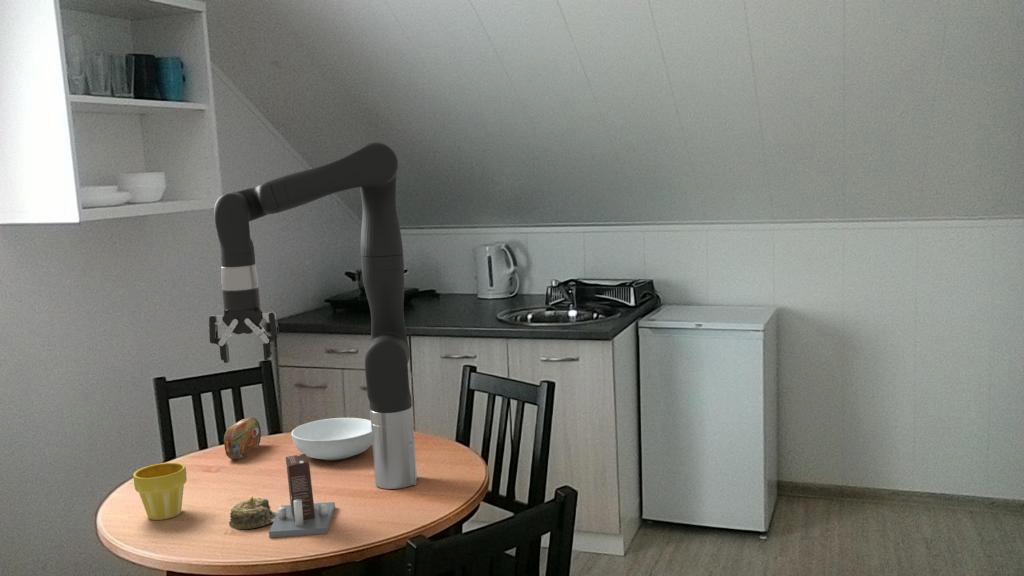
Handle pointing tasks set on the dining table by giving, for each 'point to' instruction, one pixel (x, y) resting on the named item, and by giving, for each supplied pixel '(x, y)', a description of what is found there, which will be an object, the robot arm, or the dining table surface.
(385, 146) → the robot arm
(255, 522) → the sea snail shell
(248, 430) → the tin
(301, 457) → the box
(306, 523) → the pin tray
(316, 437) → the serving bowl
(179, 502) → the plant pot
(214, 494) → the dining table surface
